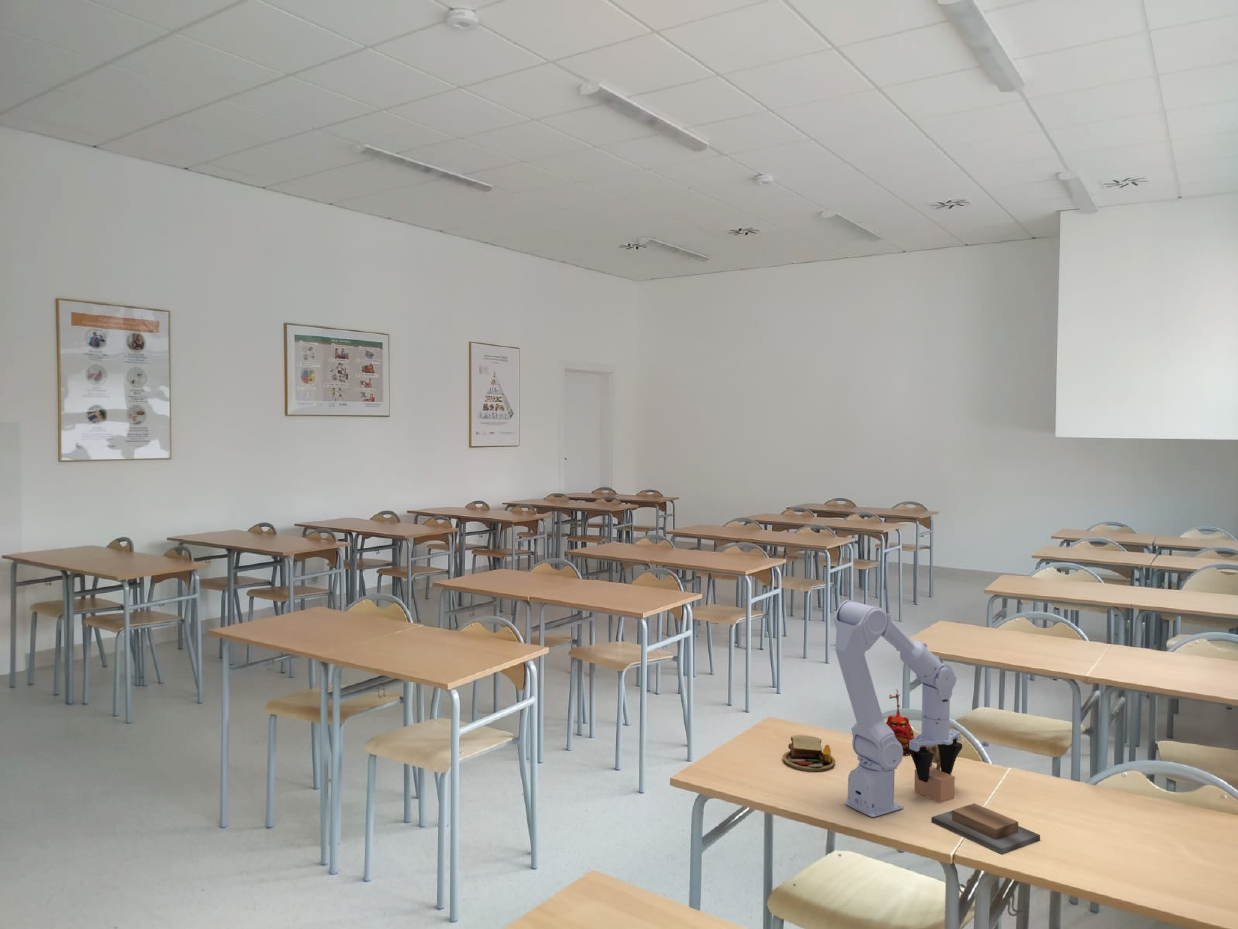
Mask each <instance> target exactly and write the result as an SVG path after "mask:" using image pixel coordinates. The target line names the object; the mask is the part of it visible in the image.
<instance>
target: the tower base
mask: <svg viewBox="0 0 1238 929" xmlns="http://www.w3.org/2000/svg"><path fill="white" fill-rule="evenodd" d="M930 820H931V822H932V823H933V824H935V825H937V826H938V827H939V826H940V827H942V828H944V829H946V830H949V831H950V832H953V833H955V834H957V835H958V836H961V837H964V838H966V839H967V840H970V841H972V842H974V843H976V844H979V845H980V846H983V847H985V848H987V849H989V850H992V851H994V852H996V853H998V854H1000V855H1003V854H1006V853H1008V852H1011V851H1014V850H1017V849H1019V848H1022V847H1025V846H1028V845H1030V844H1033V843H1037V842H1039V841H1041V834H1039V833H1036V832H1035V831H1031V830H1029V829H1027V828H1024V827H1022V826H1020V825H1019V820H1018V821H1017V820H1016V819H1013V818H1010V817H1009V816H1007V815H1004V814H1001V813H998V812H996V811H993V810H992V809H989V808H986V807H985V806H981V805H979V804H976V803H972V804H968V805H964V806H961V807H958V808H955V809H952V810H950V811H946V812H943V813H939V814H937V815H933V816H931V819H930Z"/></svg>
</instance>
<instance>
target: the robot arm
mask: <svg viewBox="0 0 1238 929" xmlns="http://www.w3.org/2000/svg"><path fill="white" fill-rule="evenodd" d="M832 619H833V622H834V625H835V629H836V630H835V631H836V632H835V633H836V634H835V648H834V649H835V653H836V656H837V657H836V658H837V660H838V663H839V667H840V670H841V674H842V677H843V680H844V685H845V686H846V687H845V688H846V691H847V695H848V698H849V700H850V704H851V708H852V711H853V714H854V718H855V721H856V723H855V724H853V726H852V727H851V730H850V731H851V733H852V743H851V745H852V750H853V752H854V753H855V754H856V755H857V761H858V762H859V763H858V765H857V766H856V767H855V768H854V769H852V770H851V771H850V772H849V774H848V778H847V800H846V801H844V805H846V806H848V807H850V808H853V809H854V810H857V811H858V812H861V813H862V814H864V815H867V816H868V817H871V818H875V817H879V816H882V815H886V814H889V813H893V812H895V811H900V810H902V809H904V806H903V805H902V804H900V803H897V802H895V770H897V769H898V766H900V764H901V762H902V761H903V760H902V759H903V757H904V755H903V748H902V745H901V744H900V742H899V741H898V740H897V739H896V737H895V734H894V732H893V731H892V729H891V728H890V727H889V726H888V725H887V724H886V721H885V720H884V717H883V713H882V710H881V707H880V704H879V700H878V696H877V693H876V690H875V686H874V684H873V679H872V676H871V673H870V669H869V666H868V662H867V659H866V656H865V654H866V652H867V651H869V650H871V648H872V647H873V646H874V644H876V642H877V641H878V640H879V638H881V637H882V638H883V639H884V640H885V641H887V643H889V644H890V645H891V646H893V648H895V649H896V650H898V652H899V658H900V660H901V661H902V662H903V664H905V666H907V667H908V668H909V669H910V670H911V671H912V672H913V673H914V674H915V677H916V681H917V682H918V683H920V684H921V686H922V687H921V688H922V691H921V692H922V693H921V699H922V700H921V733H919V734H918V735H917V736H916V737H914V739H912V740H909V746H908V752H909V753H910V757H911V758H912V761H913V764H914V767H915V769H916V771H917V775H918V779H919V780H921V781H923V782H928V780H929V771H930V764H931V761H932V758H933V756H934V754H933V753H931V752H928V750H926V748H927V747H930V746H934V745H938V749H939V754H940V771H942V772H945V773H947V774H950V775H952V773H953V769H954V767H955V762H956V759H957V757H958V755H959V753H960V752H961V750H962V749H963V744H962V743H961V742H959V741H961V731H958V730H956V729H950V716H951V715H950V711H951V710H950V707H951V706H950V704H951V703H950V700H951V698H952V696H953V689H954V687H955V686H956V683H957V676H956V674H955V672H954V670H953V668H952V666H950V665H948V664H945V663H942V662H941V660H940V657H939V656H938V655H936V654H933V653H932V651H930V650H929V649H928V644H927V643H926V642H924V641H919V640H911V639H910V638H909V636H907V634H906V633H905V632H904V631H903V630H902V629H901V628H900V627H899V626H898V625H897V623H896V622H895V621H894V620H893V619H892V616H891V614H889V613H887V612H886V611H885V610H884V609H883V608H882V607H880V606H872V605H870V604H869V605H868V604H865V603H861V602H857V601H854V600H852V599H846V600H844V601H843V602H841V603H840V604H839V606H838V608H837V610H836V611H835V613H834V615H833V617H832Z"/></svg>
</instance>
